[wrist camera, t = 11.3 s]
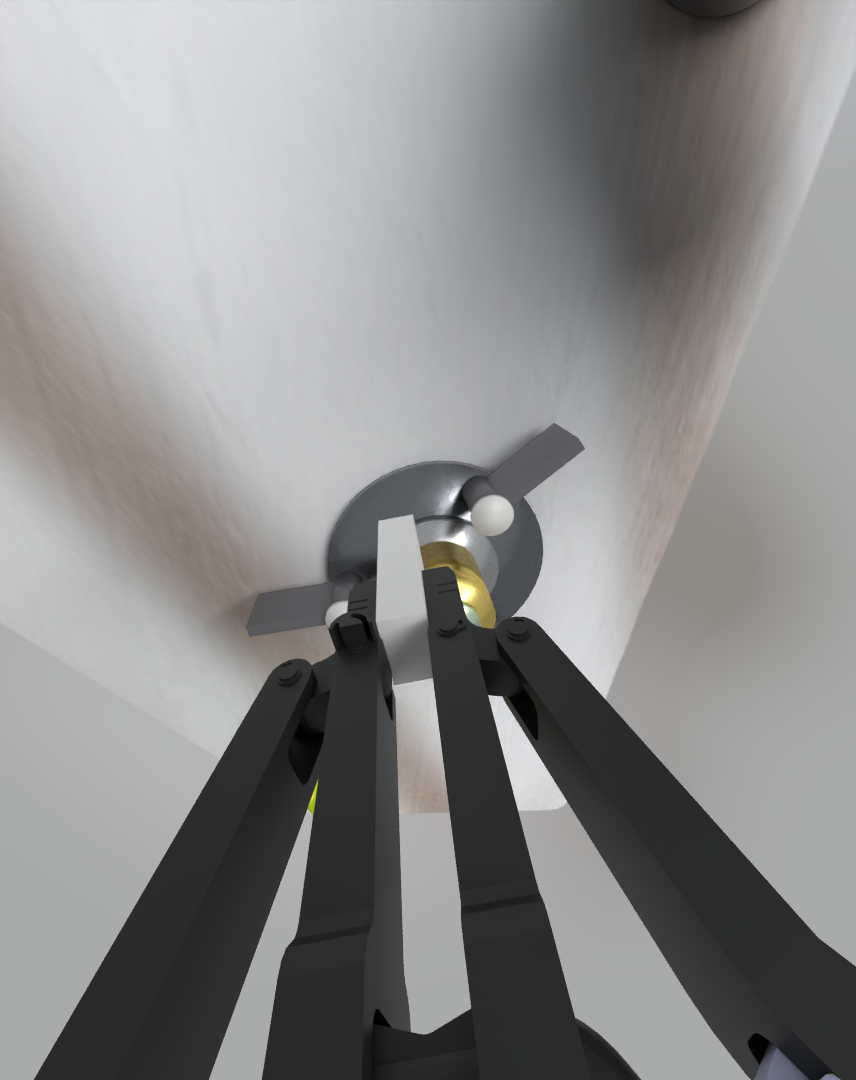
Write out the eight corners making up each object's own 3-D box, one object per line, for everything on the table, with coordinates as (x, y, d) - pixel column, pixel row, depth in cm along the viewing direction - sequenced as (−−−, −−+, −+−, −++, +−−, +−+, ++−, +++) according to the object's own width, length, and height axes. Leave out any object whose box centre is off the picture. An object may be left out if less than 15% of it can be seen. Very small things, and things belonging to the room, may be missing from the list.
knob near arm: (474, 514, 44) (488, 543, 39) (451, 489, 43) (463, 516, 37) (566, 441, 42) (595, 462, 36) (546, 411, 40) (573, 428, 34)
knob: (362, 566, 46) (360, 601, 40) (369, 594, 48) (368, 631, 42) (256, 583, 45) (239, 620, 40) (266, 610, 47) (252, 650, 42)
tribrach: (541, 444, 43) (595, 489, 32) (539, 626, 55) (578, 703, 44) (304, 480, 42) (280, 538, 31) (353, 657, 54) (348, 742, 43)
